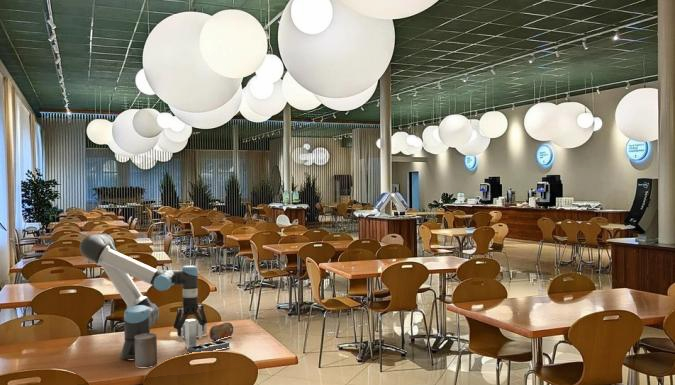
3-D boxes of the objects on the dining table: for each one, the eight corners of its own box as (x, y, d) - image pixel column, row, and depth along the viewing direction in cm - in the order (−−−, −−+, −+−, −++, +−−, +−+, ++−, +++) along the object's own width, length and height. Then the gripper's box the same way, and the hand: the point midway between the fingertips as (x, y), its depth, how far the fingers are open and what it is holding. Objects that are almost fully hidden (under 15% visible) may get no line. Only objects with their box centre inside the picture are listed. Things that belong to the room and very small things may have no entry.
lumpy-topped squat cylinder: (181, 334, 325) (181, 318, 325) (205, 332, 329) (205, 317, 329) (183, 339, 315) (182, 323, 315) (207, 336, 319) (207, 321, 319)
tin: (212, 342, 307) (212, 326, 307) (208, 341, 309) (208, 325, 308) (233, 336, 319) (233, 321, 319) (229, 335, 321) (229, 320, 320)
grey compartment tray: (195, 356, 282) (195, 349, 282) (187, 353, 287) (187, 346, 287) (229, 348, 295) (229, 341, 295) (221, 345, 300) (221, 339, 300)
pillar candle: (159, 362, 273) (159, 329, 273) (153, 368, 263) (153, 335, 263) (138, 362, 273) (137, 330, 273) (132, 369, 263) (131, 335, 263)
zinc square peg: (189, 349, 295) (189, 321, 295) (185, 347, 298) (185, 320, 297) (196, 347, 297) (196, 320, 297) (192, 346, 300) (192, 318, 300)
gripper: (173, 300, 287) (173, 345, 287) (213, 294, 303) (214, 337, 303) (165, 298, 292) (166, 342, 292) (206, 292, 308) (206, 334, 308)
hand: (190, 339), depth 297 cm, fingers open, 10 cm apart
